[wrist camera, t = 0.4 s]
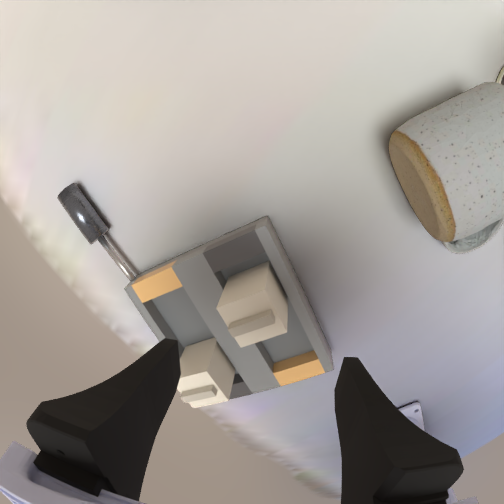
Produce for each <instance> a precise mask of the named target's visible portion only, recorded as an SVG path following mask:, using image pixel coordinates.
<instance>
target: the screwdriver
mask: <svg viewBox="0 0 504 504" xmlns="http://www.w3.org/2000/svg"><path fill="white" fill-rule="evenodd" d="M57 198H58V200H59V201H60V203H61V204H62V206H63V207H64V209H65V210H66V211H67V213H68V214H69V216H70V217H71V219H72V220H73V221H74V223H75V224H76V226H77V227H78V228H79V230H80V231H81V232H82V234H83V235H84V236H85V238H86V239H87V240H88V242H89V243H90V244H93V243H94V242H96V241H97V240H98V241H99V242H100V243H101V245H102V246H103V247H104V249H105V250H106V251H107V252H108V254H109V255H110V256H111V258H112V259H113V260H114V261H115V263H116V264H117V265H118V266H119V268H120V269H121V270H122V271H123V273H124V274H125V275H126V276H127V278H128V279H129V280H130V281H131V282H132V281H134V280H135V279H136V277H135V276H134V274H133V273H132V272H131V271H130V270H129V268H128V267H127V266H126V265H125V263H124V262H123V261H122V260H121V258H120V257H119V256H118V254H117V253H116V252H115V251H114V249H113V248H112V247H111V245H110V244H109V243H108V242H107V240H106V239H105V238H104V236H103V235H104V234H105V233H106V232H107V231H108V230H109V229H108V227H107V226H106V225H105V223H104V222H103V221H102V219H101V218H100V216H99V215H98V214H97V212H96V211H95V210H94V208H93V207H92V206H91V204H90V203H89V201H88V200H87V199H86V197H85V196H84V194H83V193H82V192H81V190H80V189H79V187H78V186H77V184H76V183H73V184H71V185H69V186H67V187H66V188H65V189H64V190H63V191H62V192H61V193H60V194H59V195H58V197H57Z"/></svg>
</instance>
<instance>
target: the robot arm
mask: <svg viewBox="0 0 504 504" xmlns="http://www.w3.org/2000/svg"><path fill="white" fill-rule="evenodd" d="M180 376H181V369H180V359H179V348H178V340H174V339H168V338H164V339H163V340H162V341H160V342H159V343H158V344H157V345H155V346H154V347H153V348H152V349H150V350H149V351H148V352H147V353H146V354H144V355H143V356H142V357H140V358H139V359H138V360H137V361H135V362H134V363H133V364H131V365H130V366H128V367H127V368H125V369H124V370H122V371H121V372H120V373H118V374H117V375H115V376H113V377H111V378H110V379H108V380H106V381H104V382H102V383H100V384H98V385H96V386H93V387H91V388H89V389H86V390H84V391H82V392H79V393H76V394H73V395H69V396H66V397H63V398H58V399H54V400H49V401H44V402H41V403H40V405H39V406H38V407H37V409H36V410H35V411H34V412H33V414H32V415H31V416H30V418H29V419H28V421H27V429H28V431H29V433H30V434H31V436H32V438H33V439H34V441H35V442H36V444H37V445H38V447H39V448H40V450H41V451H40V453H39V454H38V455H37V454H36V453H35V452H33V451H32V450H30V449H29V448H27V447H25V446H23V445H21V444H19V443H18V442H16V441H13V442H12V443H11V445H10V446H9V447H8V449H7V450H6V452H5V453H4V455H3V456H2V458H1V459H0V491H1V492H2V493H3V494H4V495H5V496H6V497H7V498H8V499H9V500H10V501H11V502H12V503H14V504H145V503H142V502H139V497H140V492H141V487H142V483H143V479H144V475H145V471H146V467H147V464H148V460H149V456H150V453H151V450H152V446H153V443H154V440H155V437H156V435H157V432H158V430H159V427H160V425H161V423H162V421H163V419H164V417H165V415H166V412H167V410H168V408H169V406H170V404H171V402H172V399H173V397H174V395H175V393H176V389H177V386H178V383H179V380H180ZM335 413H336V420H337V427H338V433H339V440H340V447H341V455H342V494H341V504H478V500H477V497H475V496H474V497H471V498H467V499H463V500H460V501H457V498H456V495H455V492H454V490H453V489H451V488H450V487H451V486H452V485H453V484H454V483H455V482H456V481H457V480H458V478H459V477H460V476H461V474H462V473H463V470H464V469H463V465H462V462H461V458H460V456H459V453H458V451H457V450H456V449H454V448H452V447H450V446H448V445H446V444H444V443H442V442H441V441H439V440H437V439H435V438H434V437H432V436H431V435H429V434H428V433H426V432H425V430H424V423H423V417H422V411H421V406H420V403H419V402H415V403H413V404H410V405H408V406H405V407H403V408H400V409H397V408H396V407H395V406H394V405H393V404H392V402H391V401H390V400H389V399H388V398H387V397H386V395H385V394H384V393H383V392H382V390H381V389H380V388H379V387H378V385H377V384H376V383H375V381H374V380H373V379H372V377H371V376H370V374H369V373H368V372H367V370H366V369H365V367H364V366H363V364H362V363H361V361H360V360H359V359H358V358H357V357H344V359H343V363H342V366H341V370H340V373H339V377H338V380H337V384H336V387H335Z"/></svg>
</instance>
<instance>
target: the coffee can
mask: <svg viewBox="0 0 504 504" xmlns="http://www.w3.org/2000/svg"><path fill="white" fill-rule="evenodd" d="M496 83H500V84H502V85H504V67H503V68H502V69H501V71H500V73H499V75H498V78H497V81H496Z"/></svg>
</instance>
